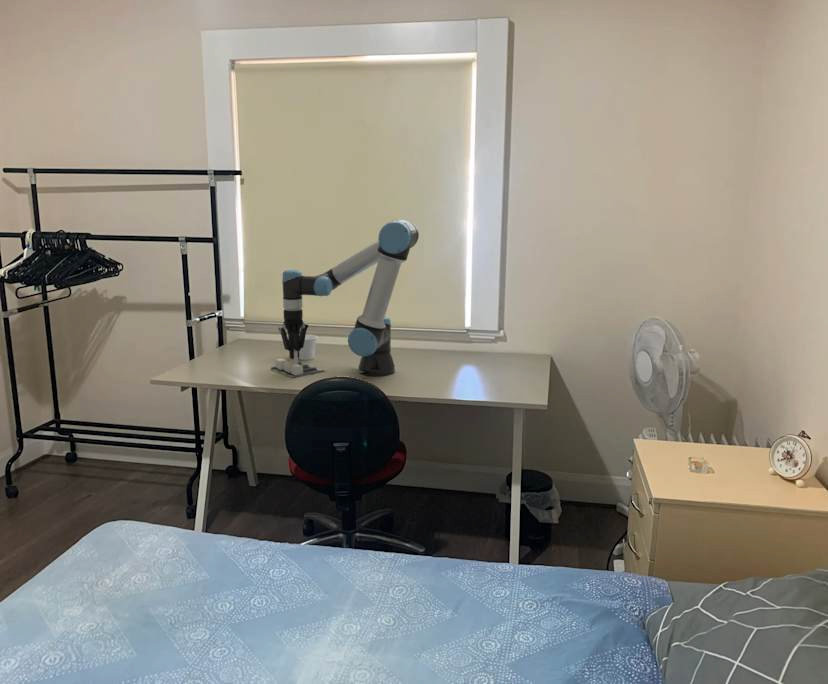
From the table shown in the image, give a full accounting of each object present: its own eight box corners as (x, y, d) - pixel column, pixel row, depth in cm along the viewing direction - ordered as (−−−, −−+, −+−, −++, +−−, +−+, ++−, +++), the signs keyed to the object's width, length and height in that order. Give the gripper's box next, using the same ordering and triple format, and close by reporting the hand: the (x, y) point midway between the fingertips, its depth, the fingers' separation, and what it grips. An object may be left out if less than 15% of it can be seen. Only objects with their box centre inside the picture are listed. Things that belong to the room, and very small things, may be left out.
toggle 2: (296, 371, 280) (295, 362, 280) (289, 372, 278) (289, 363, 278) (290, 369, 283) (290, 360, 282) (284, 370, 281) (284, 361, 280)
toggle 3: (303, 374, 276) (302, 365, 275) (296, 375, 274) (296, 367, 273) (297, 372, 279) (297, 364, 278) (291, 373, 277) (290, 365, 276)
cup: (320, 359, 308) (319, 334, 305) (314, 364, 298) (314, 339, 296) (298, 358, 309) (297, 334, 306) (292, 363, 299) (291, 338, 297)
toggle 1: (287, 368, 284) (286, 360, 284) (280, 369, 282) (280, 361, 282) (281, 366, 287) (281, 358, 286) (275, 367, 285) (275, 359, 285)
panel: (326, 374, 282) (326, 369, 282) (292, 381, 272) (292, 376, 271) (302, 366, 295) (302, 361, 295) (269, 372, 285) (268, 367, 284)
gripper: (301, 306, 284) (303, 361, 289) (273, 309, 275) (275, 366, 280) (311, 308, 278) (313, 365, 283) (283, 312, 270) (285, 370, 275)
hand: (294, 366), depth 282 cm, fingers closed
